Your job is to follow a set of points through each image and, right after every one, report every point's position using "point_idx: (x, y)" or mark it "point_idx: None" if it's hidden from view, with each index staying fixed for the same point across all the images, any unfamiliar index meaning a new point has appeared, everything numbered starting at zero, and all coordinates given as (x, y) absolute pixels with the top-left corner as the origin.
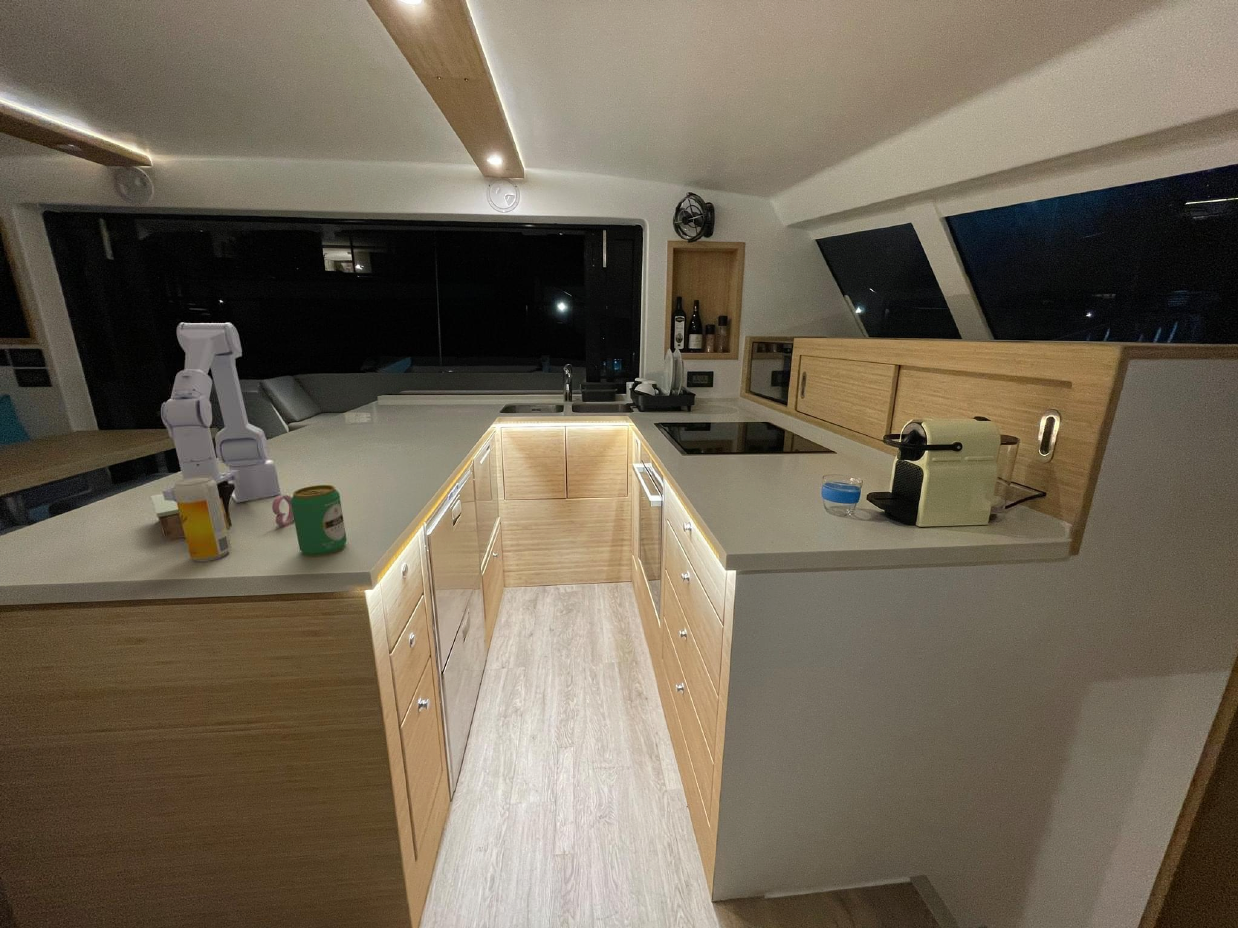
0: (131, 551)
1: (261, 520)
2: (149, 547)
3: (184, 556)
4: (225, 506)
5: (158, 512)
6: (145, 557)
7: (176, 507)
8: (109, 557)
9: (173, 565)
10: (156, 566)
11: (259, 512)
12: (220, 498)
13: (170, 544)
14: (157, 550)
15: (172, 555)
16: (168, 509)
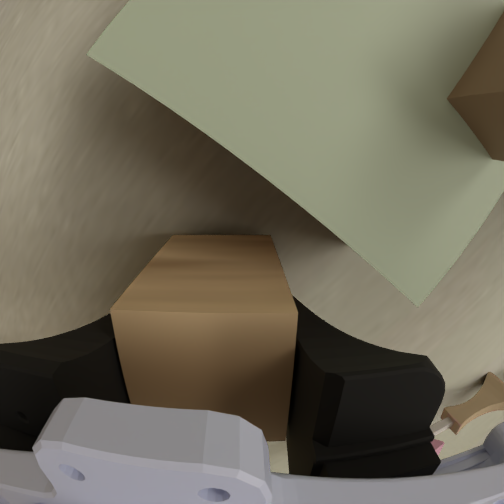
0: (48, 82)
1: (406, 314)
2: (82, 106)
3: (60, 323)
4: None
5: (106, 42)
6: (20, 197)
7: (225, 57)
8: (9, 71)
9: (23, 341)
10: (2, 301)
11: (486, 230)
12: (274, 440)
13: (117, 162)
14: (64, 173)
15: (51, 277)
16: (175, 41)
